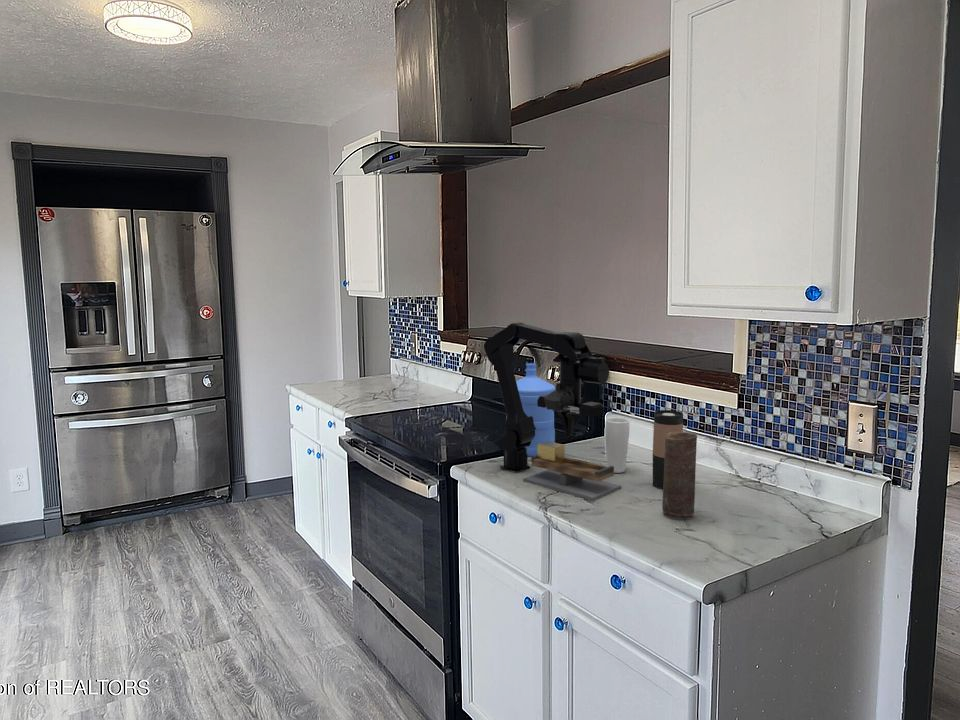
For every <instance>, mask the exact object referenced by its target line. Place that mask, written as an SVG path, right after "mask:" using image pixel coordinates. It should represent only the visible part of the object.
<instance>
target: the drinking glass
mask: <svg viewBox="0 0 960 720" xmlns="http://www.w3.org/2000/svg"><path fill="white" fill-rule="evenodd" d="M604 428H605V429H604V432H605V433H604V435H605V451H606V467H609V466H614V474H623V473H625V472H626V469H627V457H628V449H629V438H630V420H629V419H628V418H625V417H624V418H623V417H608V418H606V419H605V427H604Z"/></svg>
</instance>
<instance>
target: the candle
mask: <svg viewBox="0 0 960 720" xmlns="http://www.w3.org/2000/svg"><path fill="white" fill-rule="evenodd" d="M697 441H698V436H697V434H696V433H695V432H688V431H687V432H685V431H684V432H681V433H678V432H670V433H668V434H667V435H666V437H665V461H664V482H663V489H662V503H661V504H662V505H661V507H662V512H663V513H664V514H666V515H670V516H675V517H693V516H694V514H695V501H696V500H695V499H696V498H695V497H696V468H697V459H696V458H697Z"/></svg>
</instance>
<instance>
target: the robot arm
mask: <svg viewBox="0 0 960 720" xmlns="http://www.w3.org/2000/svg"><path fill="white" fill-rule="evenodd" d="M520 340H524V341H527V342H528V341H529V342H531V343H536V344H540V345H543V346H545V347H546V346H547V347H548V348H550V349H551V350H552V351H553V352H556V353H557V356H556V357H554V358H553V359H552V361H553V362H554V363H559V382H557V383H556V385H555V391H553V392H551V393H550V394H548V395H543V396H540V397H539V398H538V400H537V406H538V407H543V408H547V409H548V410H550V409H551V410H553V412H554V414H556V415H557V416H558V417H559V418H560V420H561V422H562V423H561V424H562V426H563V429H564V432H565V434H566V435H565V436H566V437H572V435H573V433H574V431H575V429H576V427H577V425H578V423H579V421H580V420H581V418H582V416H585V417H587V418H588V417H589V418H591V417H597V416H600V415H603V414H604V415H605V407H604V405H603V403H601V402H594V401H588V402H585V403H583V402H584V398H583V397H581V396H582V395H581V394H582V393H581V392H582V388H584V387H585V385H584V384H585V383H592V384H599V385H604V384H606V383H607V381H608V379H609V375H610V369H609V366H608V364H607V363H606V358H605V357H595V356H594V355H593V353H592V352H591V350H590V348H589V347H588V345H587V343H586V340H585V337H584V334H582V333H580V332H574V331H573V332H572V331H571V332H570V331H554V330H549V329H545V328H542V327H541V328H540V327H537V326H533V325H529V324H526V323H524V322H513V323H510V324H508V325H507V327H505V328H504V329H502V330H500V331H499V332H497V333H495V334H494V335H493V336H489V337H487V338H486V340H485V342H484V344H483V350H484V352H485V355H486V357H487V360H488V362H489V363H490V364H492V366H493V367H494V369H495V371H496V372H495V373H496V376H497V381H498V384H499V388H500V392H501V396H502V400H503V405H504V408H505V409H504V410H505V412H506V417H507V419H506V418H505V424H504V429H505V430H504V431H505V435H504V436H503V437H502V438H501V439H500V440H499V441H498V442H497V443H498V447H499V450H503V465H500V466H499V468H500V469H502V470H506V471H508V472H509V471H510V472H513V473H518V472H521V471H524V470H527V469H530V468H531V465H528V461H529V460H528V457H529V456H528V455H527V448H525V447H527V446H530V444H531V441H532V440H533V438H534V436H535V430H536V428H535V426H534V421H533V417H532V416H530V417H528V416H527V415H526V414H525V413H524V411H523V407H522V403H521V399H520V395H519V391H518V387H517V383H516V381H517V380H516V376H515V373H514V367H513V360H514V355H515V350H514V347H515V346H516V345H517V344H518V343H519V342H520ZM584 382H585V383H584Z"/></svg>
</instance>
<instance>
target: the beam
mask: <svg viewBox="0 0 960 720" xmlns="http://www.w3.org/2000/svg"><path fill="white" fill-rule="evenodd" d="M531 466H533V467H536V468H541V469H545V470H552V471H556V472H560V473H564V474H568V475H572V476H576V477H580V478H584V479H589V480H593V481H597V482H599V481H605V480H606V479H609V478H612V477H614V474H615V473H614V466H609V467H607V465H606V466H605V465H600V464H596V463H593V462H588V461H583V460H579V459H575V458H570V457H565V462H564V463H561V464H558V463H554V462H549V461H545V460H541V459H537V455H536V456H531Z"/></svg>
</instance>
